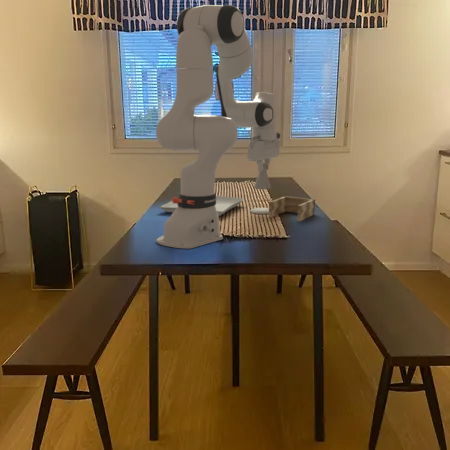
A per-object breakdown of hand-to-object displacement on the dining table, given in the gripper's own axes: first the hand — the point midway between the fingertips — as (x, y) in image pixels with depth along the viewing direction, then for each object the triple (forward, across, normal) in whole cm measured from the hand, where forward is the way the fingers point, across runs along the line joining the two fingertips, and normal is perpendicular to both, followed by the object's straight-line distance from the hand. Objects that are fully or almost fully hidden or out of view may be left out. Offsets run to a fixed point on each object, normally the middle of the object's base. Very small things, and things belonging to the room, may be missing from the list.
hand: (263, 170), depth 185 cm
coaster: (+17, 0, 0) cm, 17 cm away
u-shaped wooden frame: (+17, 0, -13) cm, 21 cm away
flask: (+8, 0, 0) cm, 8 cm away
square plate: (+18, -9, +23) cm, 30 cm away
